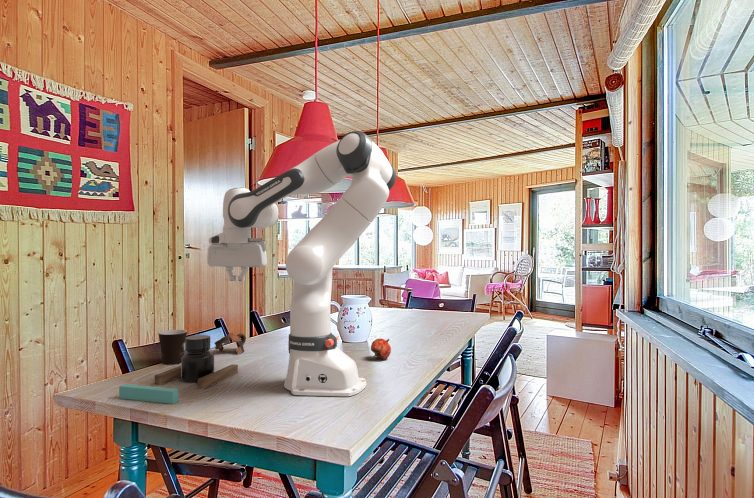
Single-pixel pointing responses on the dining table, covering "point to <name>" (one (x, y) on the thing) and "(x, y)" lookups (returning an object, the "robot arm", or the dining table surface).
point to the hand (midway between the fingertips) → (237, 280)
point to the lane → (202, 382)
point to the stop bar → (148, 393)
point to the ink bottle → (197, 358)
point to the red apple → (380, 348)
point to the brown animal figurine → (235, 338)
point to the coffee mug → (172, 346)
